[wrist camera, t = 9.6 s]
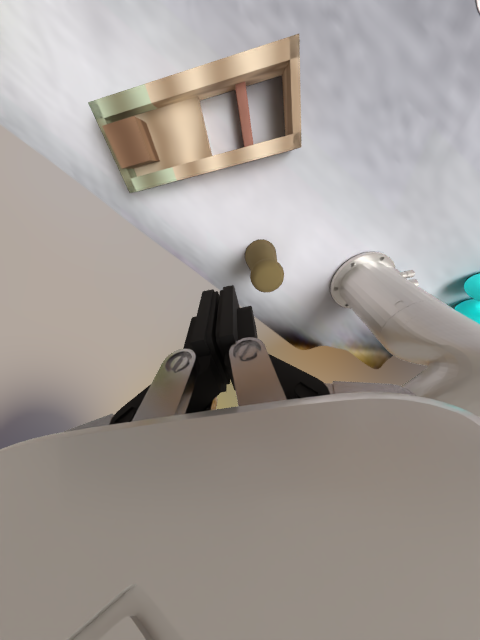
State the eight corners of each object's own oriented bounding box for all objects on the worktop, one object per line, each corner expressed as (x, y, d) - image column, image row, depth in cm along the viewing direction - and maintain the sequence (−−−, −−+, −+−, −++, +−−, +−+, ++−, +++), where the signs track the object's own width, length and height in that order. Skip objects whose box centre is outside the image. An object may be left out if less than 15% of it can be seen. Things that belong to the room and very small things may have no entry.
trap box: (289, 54, 24) (299, 33, 20) (292, 149, 29) (301, 147, 26) (107, 111, 27) (88, 102, 23) (141, 190, 32) (129, 193, 28)
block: (146, 122, 26) (134, 115, 23) (159, 161, 28) (150, 160, 25) (117, 131, 26) (101, 125, 23) (133, 168, 29) (121, 168, 25)
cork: (282, 255, 39) (297, 279, 30) (259, 276, 41) (266, 305, 32) (261, 232, 36) (270, 252, 27) (238, 256, 39) (240, 281, 30)
